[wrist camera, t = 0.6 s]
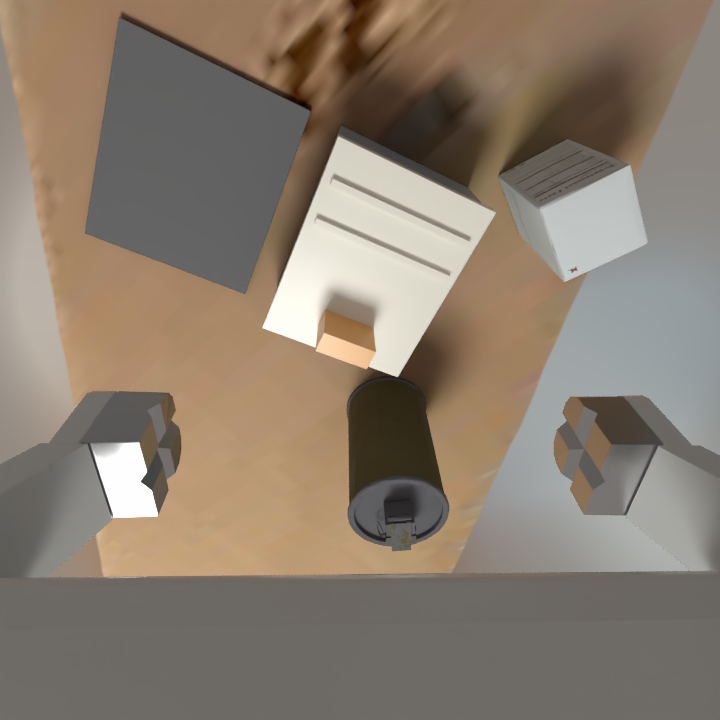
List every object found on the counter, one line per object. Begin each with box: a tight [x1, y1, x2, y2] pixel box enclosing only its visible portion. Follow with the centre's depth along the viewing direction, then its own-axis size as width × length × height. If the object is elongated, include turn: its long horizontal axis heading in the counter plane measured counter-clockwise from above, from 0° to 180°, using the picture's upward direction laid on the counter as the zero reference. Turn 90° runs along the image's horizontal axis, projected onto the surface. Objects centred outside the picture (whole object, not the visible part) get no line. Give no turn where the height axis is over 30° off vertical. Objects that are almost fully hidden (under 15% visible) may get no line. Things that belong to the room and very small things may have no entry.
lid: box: [263, 134, 496, 377], centre depth 44 cm, size 19×15×7 cm
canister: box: [347, 377, 449, 551], centre depth 57 cm, size 11×10×20 cm
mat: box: [85, 18, 311, 294], centre depth 48 cm, size 20×17×1 cm
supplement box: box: [498, 139, 648, 282], centre depth 45 cm, size 7×7×13 cm
